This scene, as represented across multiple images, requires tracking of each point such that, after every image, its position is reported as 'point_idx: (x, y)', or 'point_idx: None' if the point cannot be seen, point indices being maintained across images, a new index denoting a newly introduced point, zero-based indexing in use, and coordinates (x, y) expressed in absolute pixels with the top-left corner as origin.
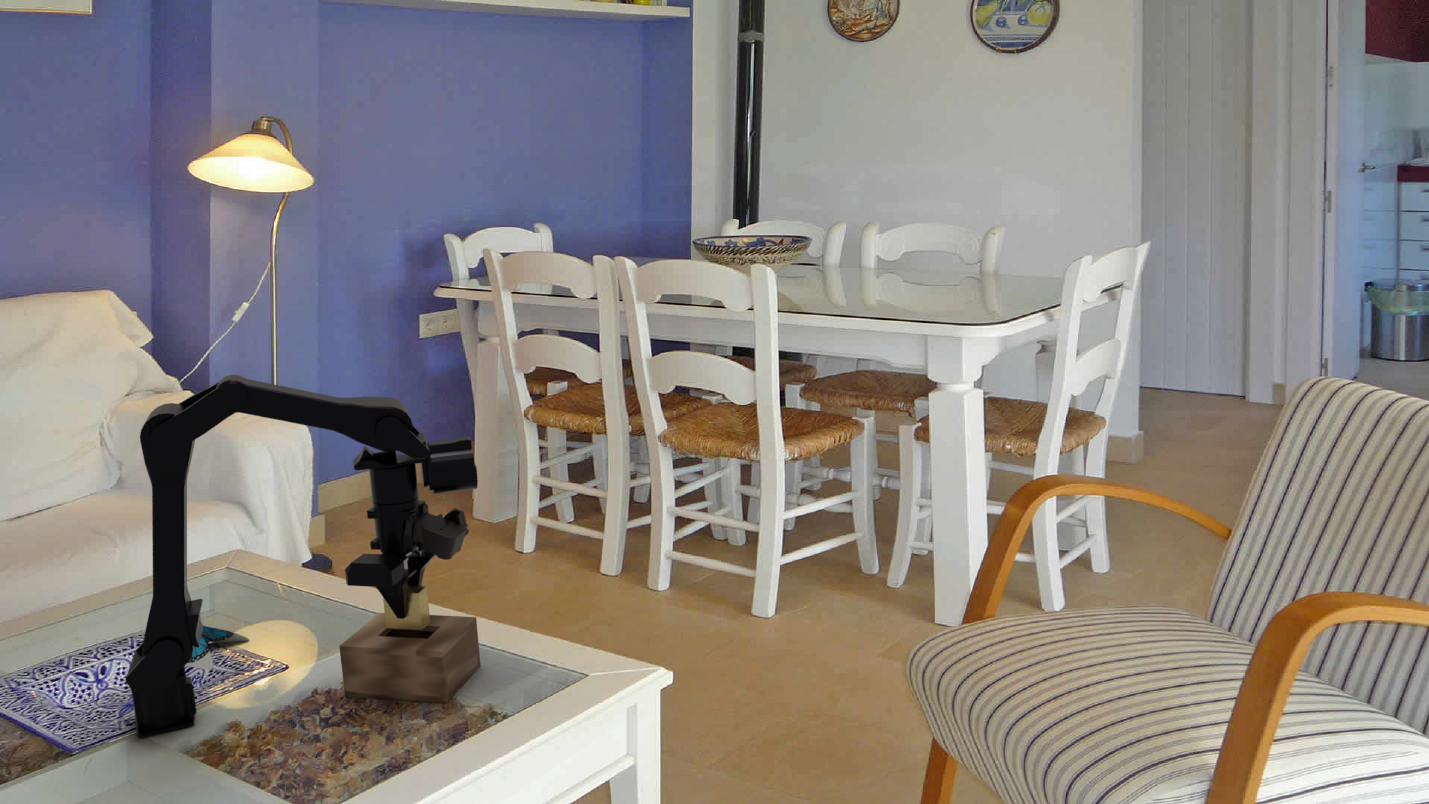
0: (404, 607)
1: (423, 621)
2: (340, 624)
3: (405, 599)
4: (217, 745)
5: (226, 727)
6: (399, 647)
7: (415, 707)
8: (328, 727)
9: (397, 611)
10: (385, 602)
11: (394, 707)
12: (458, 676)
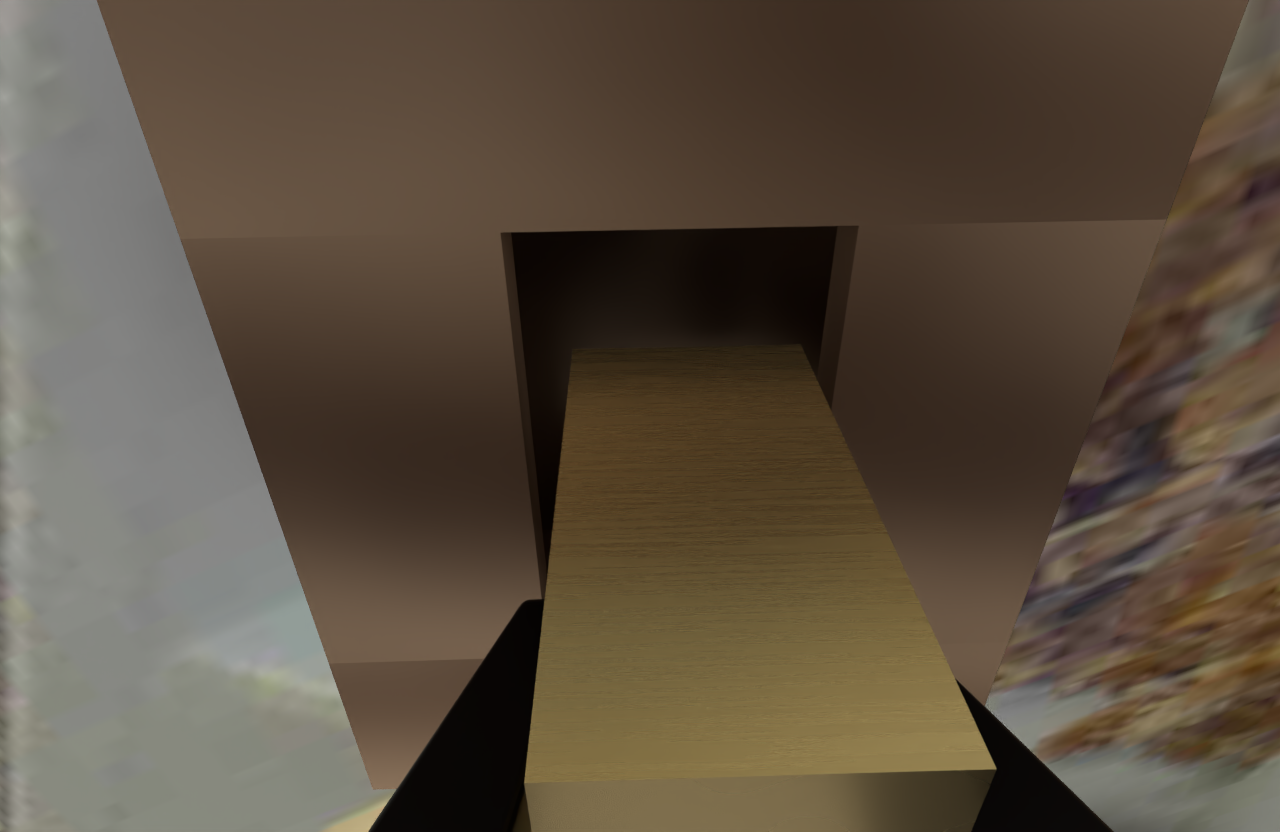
0: (971, 702)
1: (751, 388)
2: (181, 814)
3: (1028, 814)
4: (1226, 720)
5: (1085, 752)
6: (1059, 406)
7: None
8: (1176, 453)
9: None
10: None
11: None
12: None
